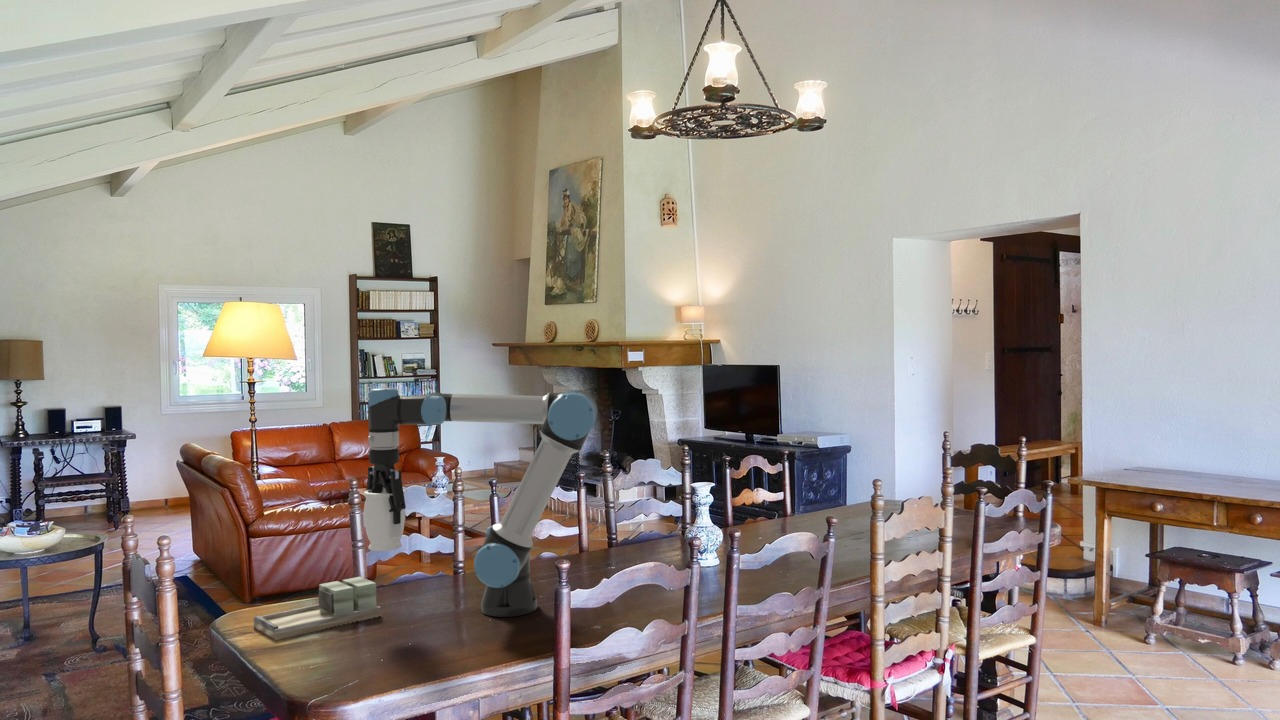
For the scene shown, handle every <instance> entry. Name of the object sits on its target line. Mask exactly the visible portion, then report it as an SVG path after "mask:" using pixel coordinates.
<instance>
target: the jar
mask: <svg viewBox="0 0 1280 720" xmlns="http://www.w3.org/2000/svg"><path fill="white" fill-rule="evenodd" d="M403 493H404V495H405V493H406V490H405V489H404V488H403ZM390 495H393V494H392V493H391V494H389V493H386V489H385V488H384V487H383V490H382V493H372V490H367V491H366V490H365V491H363V496H364V498H365V497H366V500H365V499H364V505H363V506H364V507H363V521H364V525H365V533H366V536H367V539H368V541H369V543H370V544H369V545H368V550H370V551H372V552H390V551H395V550H398V549H401V548H402V546H403V544H402V543H401V539H402V537H403V534H404V529H405V522H406V513H407V512H406V508H405V509H402V511H401V536H397V537H390V517H389V510H390V509H391V507H390V503H389V497H390Z"/></svg>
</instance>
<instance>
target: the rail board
mask: <svg viewBox="0 0 1280 720" xmlns="http://www.w3.org/2000/svg"><path fill="white" fill-rule="evenodd" d="M318 587H319V588H318V603H317V604H312V605H308V606H303V607H297V608H292V609H287V610H285V611H284V610H283V611H279V612H273V613H269V614H265V615H256V616H254V617H253V628H255V629H257V630H258V631H260V632H262V633H263V634H265V635H266V636H268V637H270V638H272V639H274V640H275V641H277V640H278V641H279V640H282V639H287V638H291V637H296V636H299V635H305V634H308V633H312V632H317V631H322V629H323V630H326V628H327V629H330V627H331V628H335V627H334V626H336V627H339V626H338V625H340V626H344V625H343V624H345V625H348V624H347V623H349V624H352V622H353V623H357V622H356V621H358V622H363V621H367V620H371V619H375V618H379V616H380V617H382V611H381V610H382V609H381V608H382V607H381V606H379V605H378V606H377V583H376V582H374V581H372V580H369V579H366V578H364V577H362V576H355V577H350V578H346V579H342V580H341V581H338V580H336V581H331V582H330V581H329V582H325V583H320V584H318ZM374 617H375V618H374Z"/></svg>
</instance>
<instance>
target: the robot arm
mask: <svg viewBox="0 0 1280 720" xmlns="http://www.w3.org/2000/svg"><path fill="white" fill-rule="evenodd" d="M367 408H368V409H367V411H368V412H367V413H368V437H367V439H368V442H369V443H368V447H369V448H370V449H369V450H368V462H369V464H371V465H374V466H368V467H367V475H368V476H367V480H366V481H367V482H366V488H365V491H367V490H372V493H382V490H383V488H385V489H386V493H389V494H391V493H392V494H393V495H390V497H389V503H390V507H391V509H390V510H389V517H390V537H397V536H401V511H402V509H405V510H406V501H405V494H404V493H403V489H404V487H403V481H402V470H400V469H399V470H396V468H395V464H397V463H399V462H400V449H399V448H398V447H399V446H400V425H401V426H406V425H407V426H409V425H410V426H412V425H413V426H414V425H416V426H423V425H424V426H434V425H442V424H443V423H445V422H468V423H469V422H471V423H499V424H528V425H529V424H534V425H542V426H541V428H540V430H539V434H540V436H541V440H540V443H539V445H538V446H537V449H536V451H535V453H534V455H533V457H532V459H531V461H530V464H529V465H528V467H527V469H526V471H525V473H524V475H523V477H522V479H521V481H520V483H519V485H518V487H517V489H516V491H515V493H514V495H513V497H512V499H511V501H510V503H509V505H508V507H507V509H506V510H505V513H504V515H503V518H502V519H501V521H500V522H497V523H494V524H492V525H490V526H488V527H487V528H486V532H485V537H486V538H485V539H484V542H483V544H482V546H481V547H480V548H479V550H478V551H477V552H476V554H475V555H474V560H473V561H474V562H473V568H474V573H475V575H476V577H477V579H479V581H480V582H481V583H482V584H484V585H486V586H485V589H484V592H483V595H482V600H481V603H480V608H481V609H480V610H481V611H480V612H481V613H482V614H484V615H487V616H489V617H497V618H498V617H499V618H509V617H518V616H524V615H528V614H532V613H533V612H535V611H536V610H537V608H538V600H537V597H536V593H535V591H534V587H533V585H532V582H531V559H530V558H531V557H530V556H531V555H530V554H531V553H530V552H531V550H532V548H533V546H534V543H533V540H532V535H533V533H534V531H535V529H536V527H537V525H538V523H539V521H540V519H541V517H542V515H543V512H544V511H545V509H546V507H547V505H548V503H549V501H550V499H551V497H552V495H553V493H554V491H555V488H556V487H557V485H558V483H559V482H560V479H561V477H562V474H563V473H564V471H565V469H566V467H567V465H568V463H569V461H570V460H571V457H572V455H573V454H576V453H579V452H581V450H582V448H583V446H584V444H585V442H586V441H587V438H588V436H589V434H590V432H591V430H592V429H593V428H594V426H595V424H596V421H597V420H598V416H599V410H598V409H599V408H598V405H597V402H596V400H595V399H594V398H593V396H591V395H590V394H589V393H588V392H585V391H583V390H577V389H576V390H569V391H563V392H548V393H547V394H545V395H520V394H519V395H518V394H517V395H516V394H515V395H513V394H511V395H510V394H509V395H508V394H476V393H475V394H472V393H469V394H468V393H442V392H431V393H428V394H423V395H400V394H399V390H398V389H397V388H389V387H387V388H386V387H384V388H383V387H382V388H372V389H371V390H369V392H368V404H367ZM365 500H366V497H365V496H364V501H365Z"/></svg>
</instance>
